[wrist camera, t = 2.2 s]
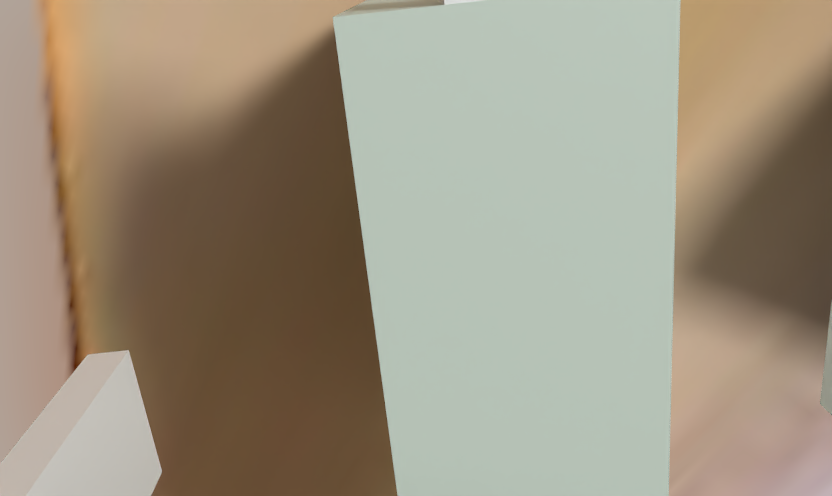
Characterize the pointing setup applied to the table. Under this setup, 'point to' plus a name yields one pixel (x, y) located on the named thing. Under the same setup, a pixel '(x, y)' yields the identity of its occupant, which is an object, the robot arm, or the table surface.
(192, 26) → the table surface
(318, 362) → the table surface
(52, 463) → the robot arm
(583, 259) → the door
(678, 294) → the table surface
